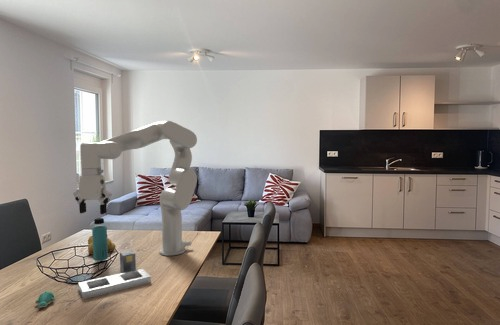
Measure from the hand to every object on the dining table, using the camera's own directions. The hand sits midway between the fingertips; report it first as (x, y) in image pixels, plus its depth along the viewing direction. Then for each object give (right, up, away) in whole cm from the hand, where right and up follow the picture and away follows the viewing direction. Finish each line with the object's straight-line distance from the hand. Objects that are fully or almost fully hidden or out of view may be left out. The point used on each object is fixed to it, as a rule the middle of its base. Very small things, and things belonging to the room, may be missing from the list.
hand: (93, 213), depth 143 cm
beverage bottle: (-3, -24, +14) cm, 28 cm away
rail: (+14, -26, -12) cm, 32 cm away
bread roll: (-8, -24, +27) cm, 37 cm away
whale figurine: (-4, -27, -26) cm, 38 cm away
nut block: (+14, -25, +2) cm, 29 cm away
